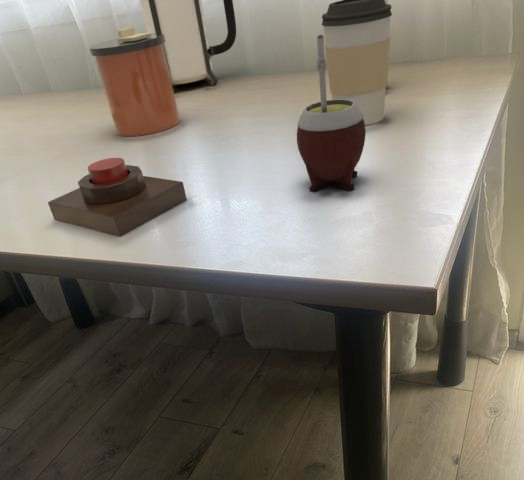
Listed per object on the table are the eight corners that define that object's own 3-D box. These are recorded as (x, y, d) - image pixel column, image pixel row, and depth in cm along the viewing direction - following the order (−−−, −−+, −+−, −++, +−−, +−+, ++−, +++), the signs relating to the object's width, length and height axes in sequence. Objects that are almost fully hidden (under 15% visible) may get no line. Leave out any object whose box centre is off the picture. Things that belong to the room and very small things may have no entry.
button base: (54, 220, 61) (41, 186, 59) (120, 188, 67) (110, 156, 65) (120, 237, 55) (108, 200, 52) (187, 200, 60) (179, 165, 58)
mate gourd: (338, 167, 62) (330, 18, 53) (385, 182, 56) (385, 18, 47) (286, 187, 59) (268, 33, 50) (330, 205, 54) (319, 35, 45)
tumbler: (99, 135, 91) (73, 49, 83) (150, 115, 98) (130, 34, 90) (146, 139, 85) (121, 47, 77) (196, 117, 92) (179, 31, 84)
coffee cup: (391, 125, 72) (392, -6, 63) (325, 132, 74) (317, 5, 65) (390, 108, 79) (391, -13, 70) (330, 114, 81) (323, -2, 72)
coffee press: (197, 94, 107) (160, -98, 89) (140, 95, 115) (95, -81, 97) (244, 74, 118) (220, -101, 100) (189, 76, 126) (157, -86, 108)
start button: (85, 184, 59) (80, 168, 57) (113, 171, 61) (108, 156, 60) (107, 188, 56) (102, 171, 55) (136, 175, 59) (131, 159, 58)
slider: (117, 42, 83) (115, 31, 82) (135, 37, 85) (132, 26, 84) (134, 41, 80) (131, 29, 79) (151, 36, 82) (149, 25, 81)
